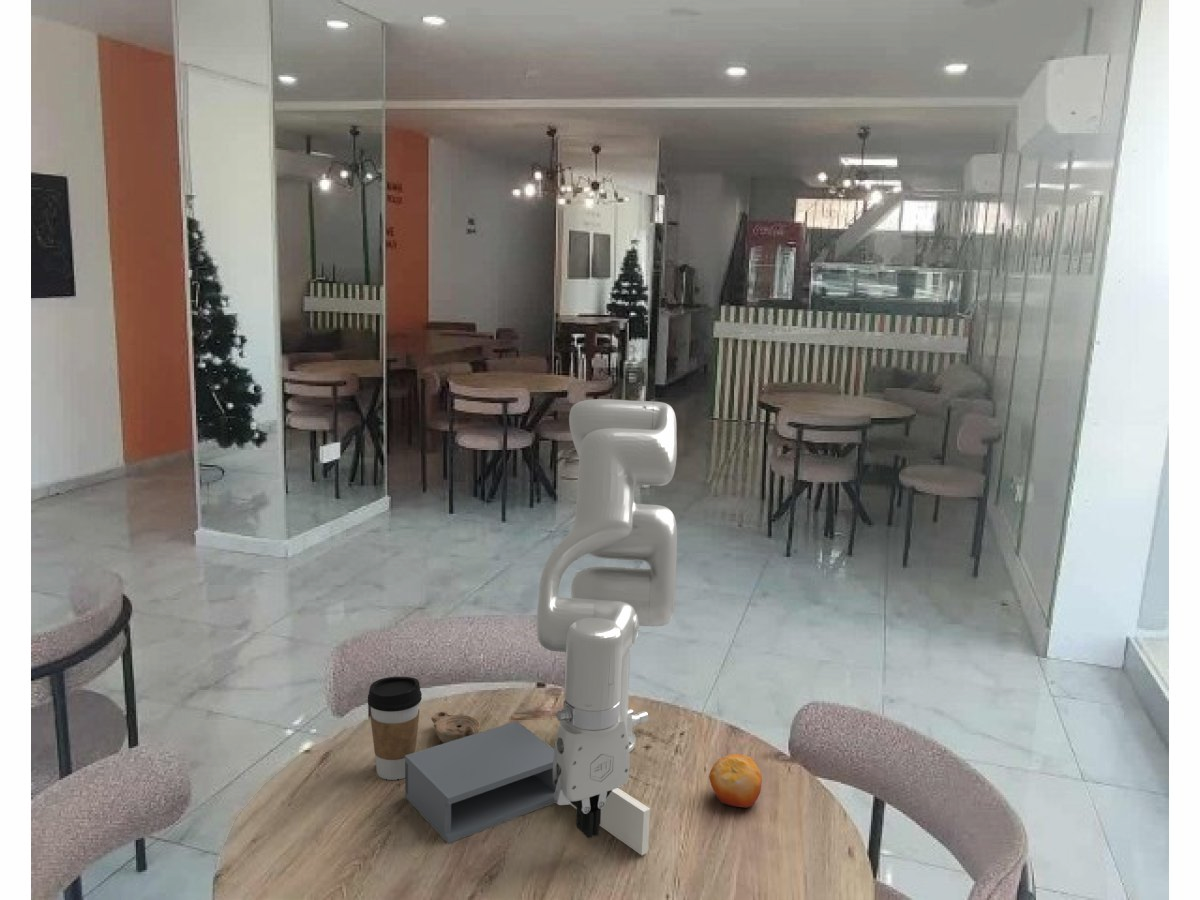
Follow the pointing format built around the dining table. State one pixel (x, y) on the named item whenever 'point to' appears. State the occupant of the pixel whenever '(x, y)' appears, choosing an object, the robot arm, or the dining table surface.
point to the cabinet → (480, 780)
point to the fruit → (736, 780)
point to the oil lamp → (454, 726)
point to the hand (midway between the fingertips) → (588, 831)
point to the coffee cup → (394, 723)
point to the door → (626, 820)
